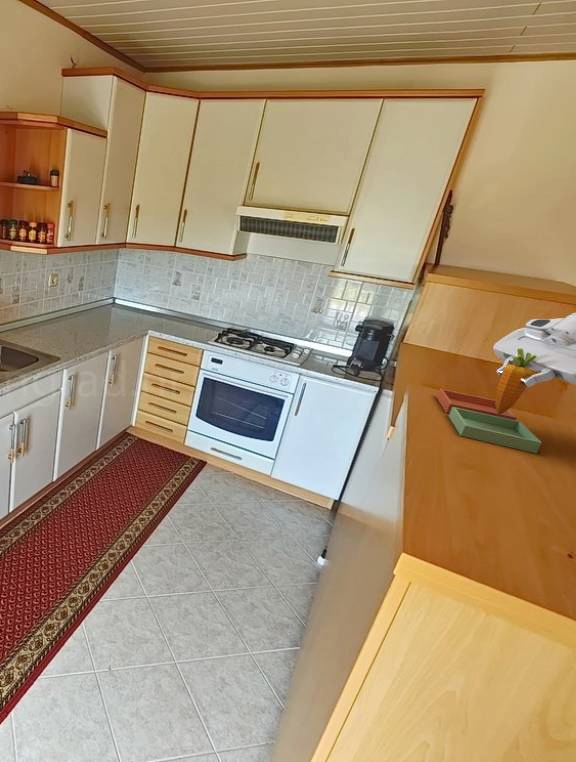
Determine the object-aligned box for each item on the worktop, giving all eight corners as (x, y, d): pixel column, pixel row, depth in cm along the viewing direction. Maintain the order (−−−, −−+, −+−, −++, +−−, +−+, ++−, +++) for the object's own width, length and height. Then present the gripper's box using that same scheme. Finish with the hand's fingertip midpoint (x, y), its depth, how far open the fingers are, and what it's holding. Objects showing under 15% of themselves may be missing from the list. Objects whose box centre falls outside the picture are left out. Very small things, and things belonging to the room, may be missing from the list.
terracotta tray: (496, 410, 127) (500, 401, 126) (512, 427, 116) (517, 417, 115) (436, 397, 133) (439, 388, 132) (446, 412, 122) (450, 403, 121)
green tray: (516, 431, 114) (521, 421, 113) (536, 453, 103) (542, 442, 102) (448, 416, 119) (452, 406, 118) (460, 435, 108) (465, 425, 107)
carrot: (517, 420, 106) (547, 355, 101) (490, 415, 108) (518, 350, 103) (507, 412, 111) (535, 349, 105) (481, 407, 112) (508, 345, 107)
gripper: (633, 365, 95) (563, 407, 98) (534, 337, 114) (479, 374, 117) (623, 341, 93) (553, 385, 96) (524, 317, 112) (468, 354, 115)
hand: (511, 378), depth 106 cm, fingers closed on carrot, 4 cm apart
